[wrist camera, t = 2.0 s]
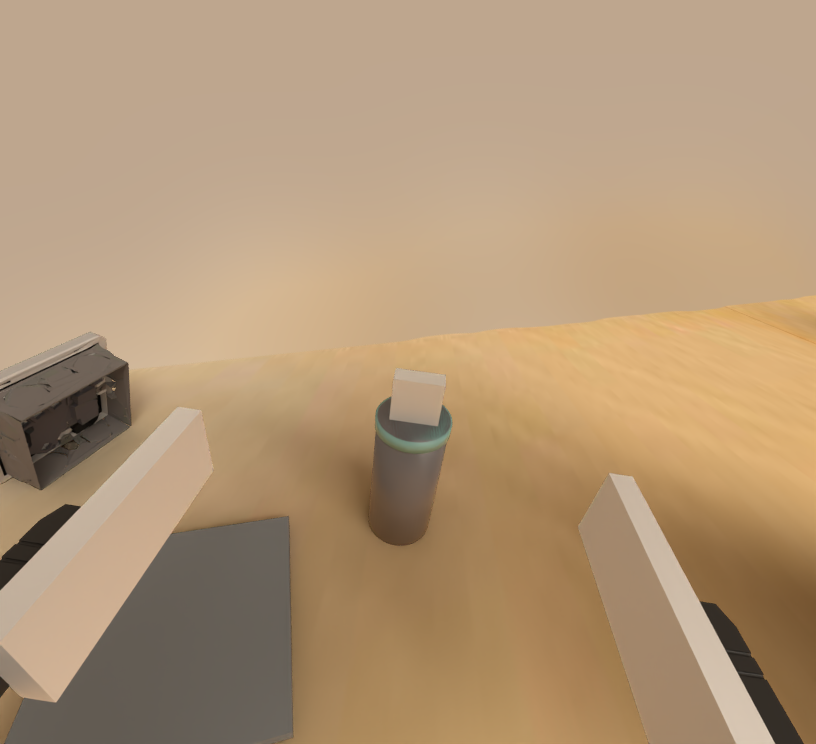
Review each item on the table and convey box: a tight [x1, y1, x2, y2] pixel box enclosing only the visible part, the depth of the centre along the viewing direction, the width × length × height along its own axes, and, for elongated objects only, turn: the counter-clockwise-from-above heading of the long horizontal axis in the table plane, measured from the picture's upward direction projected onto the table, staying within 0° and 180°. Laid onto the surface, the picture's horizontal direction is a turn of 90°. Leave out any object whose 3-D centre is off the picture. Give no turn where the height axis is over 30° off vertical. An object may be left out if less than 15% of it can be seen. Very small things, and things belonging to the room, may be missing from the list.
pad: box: [4, 516, 293, 744], centre depth 22 cm, size 12×12×1 cm
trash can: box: [369, 368, 452, 546], centre depth 26 cm, size 5×5×13 cm
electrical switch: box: [0, 332, 131, 490], centre depth 29 cm, size 9×5×9 cm, turn 164°
